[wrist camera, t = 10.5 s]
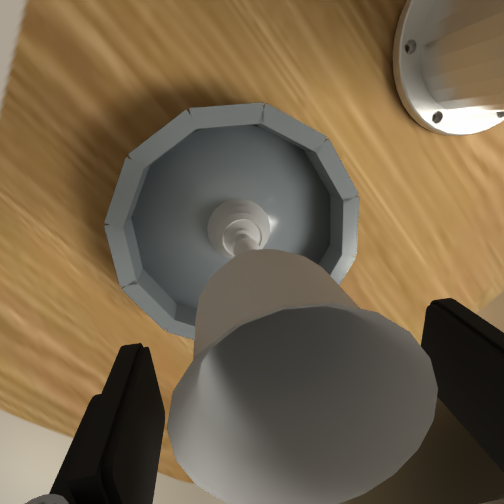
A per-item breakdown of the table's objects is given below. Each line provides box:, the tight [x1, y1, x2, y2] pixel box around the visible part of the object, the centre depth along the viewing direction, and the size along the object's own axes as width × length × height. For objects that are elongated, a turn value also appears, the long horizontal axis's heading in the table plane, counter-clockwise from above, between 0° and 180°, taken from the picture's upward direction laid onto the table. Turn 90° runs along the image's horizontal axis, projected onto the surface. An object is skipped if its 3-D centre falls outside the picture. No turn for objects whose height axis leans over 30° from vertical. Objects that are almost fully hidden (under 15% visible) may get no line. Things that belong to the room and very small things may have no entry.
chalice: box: [167, 199, 438, 504], centre depth 16 cm, size 7×7×18 cm
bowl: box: [104, 102, 359, 340], centre depth 24 cm, size 18×18×4 cm
